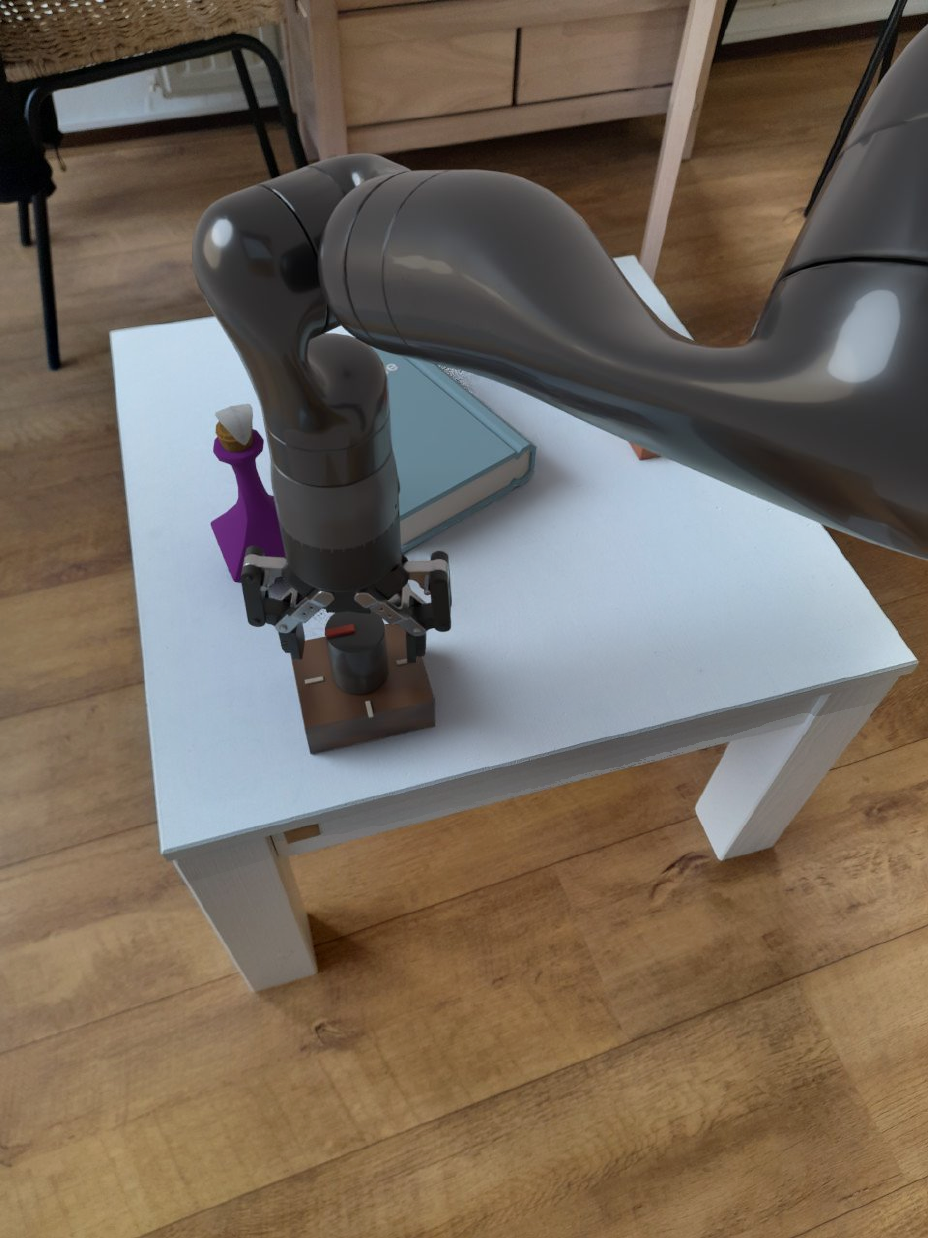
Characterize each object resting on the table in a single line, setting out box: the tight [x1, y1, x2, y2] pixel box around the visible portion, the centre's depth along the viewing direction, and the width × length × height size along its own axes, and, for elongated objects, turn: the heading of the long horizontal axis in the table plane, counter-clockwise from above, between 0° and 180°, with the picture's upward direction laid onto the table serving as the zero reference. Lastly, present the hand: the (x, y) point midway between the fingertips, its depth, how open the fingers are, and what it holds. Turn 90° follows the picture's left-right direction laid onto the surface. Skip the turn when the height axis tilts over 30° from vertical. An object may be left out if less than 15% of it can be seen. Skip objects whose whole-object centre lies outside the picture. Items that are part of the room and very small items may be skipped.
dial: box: [324, 611, 388, 694], centre depth 70 cm, size 4×4×6 cm
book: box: [370, 346, 538, 554], centre depth 91 cm, size 23×16×5 cm
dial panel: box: [289, 623, 436, 755], centre depth 73 cm, size 10×9×4 cm
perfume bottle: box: [210, 403, 285, 584], centre depth 76 cm, size 8×8×18 cm
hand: (356, 651), depth 70 cm, fingers open, 8 cm apart
